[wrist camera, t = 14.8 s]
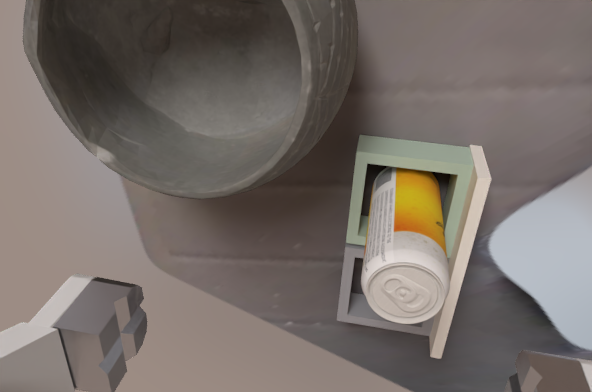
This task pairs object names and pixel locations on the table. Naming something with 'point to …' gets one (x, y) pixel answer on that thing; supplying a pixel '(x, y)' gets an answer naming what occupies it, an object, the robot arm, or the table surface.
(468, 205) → the holder board
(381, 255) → the beer can
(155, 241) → the table surface
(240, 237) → the table surface
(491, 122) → the table surface
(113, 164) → the bowl
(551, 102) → the table surface
